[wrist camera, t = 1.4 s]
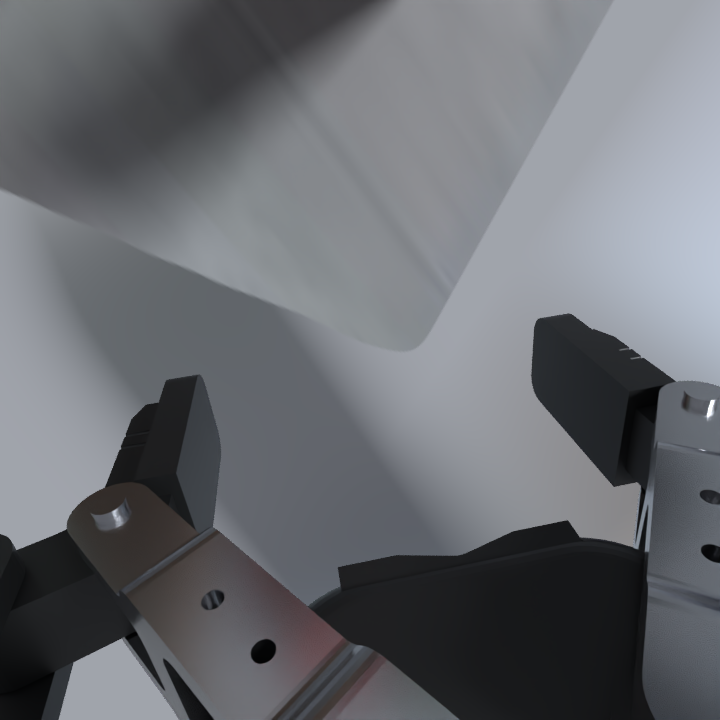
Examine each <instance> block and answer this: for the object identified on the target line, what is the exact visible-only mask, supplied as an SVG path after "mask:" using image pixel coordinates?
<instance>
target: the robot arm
mask: <svg viewBox="0 0 720 720" xmlns="http://www.w3.org/2000/svg"><path fill="white" fill-rule="evenodd" d="M531 376H532V384H533V389H534V392H535V394H536V396H537V398H538V399H539V401H540V402H541V403H542V404H543V405H544V407H545V408H546V409H547V410H548V411H549V412H550V414H552V416H553V417H554V418H555V419H556V421H557V422H558V423H559V424H560V425H561V426H562V427H563V428H564V429H565V431H566V432H567V433H568V434H569V436H571V438H572V439H573V440H574V441H575V442H576V444H577V445H578V446H579V447H580V448H581V449H582V450H583V452H584V453H585V454H586V455H587V456H588V457H589V459H590V460H591V461H592V462H593V463H594V464H595V465H596V467H597V468H598V469H599V470H600V471H601V472H602V474H603V475H604V476H605V477H606V478H607V479H608V481H609V482H610V483H611V484H612V485H613V486H614V487H615V486H620V485H625V484H630V483H635V482H638V483H639V484H640V485H641V488H640V493H639V499H638V506H637V516H636V524H635V533H634V542H633V547H630V546H626V545H623V544H620V543H616V542H612V541H607V540H601V539H593V538H580V537H579V536H578V534H577V533H576V531H575V530H574V528H573V527H572V526H571V524H570V523H569V521H562V522H557V523H552V524H547V525H542V526H537V527H532V528H528V529H523V530H518V531H513V532H511V533H509V534H507V535H504V536H502V537H500V538H498V539H496V540H494V541H492V542H489V543H487V544H485V545H483V546H481V547H479V548H477V549H474V550H472V551H470V552H468V553H466V554H463V555H459V556H409V555H408V556H407V555H405V556H403V555H396V556H391V557H386V558H381V559H376V560H371V561H367V562H361V563H356V564H352V565H347V566H342V567H338V570H339V578H340V584H341V586H340V587H338V588H336V589H334V590H332V591H330V592H328V593H326V594H325V595H323V596H321V597H320V598H318V599H317V600H315V601H314V602H313V603H311V604H310V605H309V606H306V605H305V604H304V603H303V602H301V601H300V600H299V599H298V598H297V597H296V596H295V595H293V594H292V593H291V592H290V591H289V590H288V589H286V588H285V587H284V586H283V585H282V584H280V583H279V582H278V581H277V580H276V579H274V578H273V577H272V576H271V575H270V574H269V573H267V572H266V571H265V570H264V569H263V568H262V567H261V566H259V565H258V564H257V563H256V562H255V561H253V560H252V559H251V558H250V557H249V556H248V555H246V554H245V553H244V552H243V551H242V550H240V549H239V548H238V547H237V546H236V545H235V544H234V543H232V542H231V541H230V540H229V539H228V538H226V537H225V536H224V535H223V534H222V533H220V532H219V531H218V530H217V529H215V528H213V520H214V512H215V503H216V495H217V486H218V477H219V468H220V459H221V446H220V438H219V433H218V429H217V426H216V422H215V419H214V415H213V412H212V408H211V404H210V401H209V397H208V394H207V390H206V386H205V383H204V381H203V378H202V377H201V375H193V376H187V377H181V378H175V379H169V380H166V382H165V385H164V388H163V391H162V394H161V397H160V401H159V403H154V404H148V405H145V406H144V407H143V408H142V410H140V411H139V412H138V413H137V414H136V415H135V416H134V417H133V419H131V422H130V425H129V427H128V430H127V433H126V437H125V438H124V440H123V443H122V445H121V450H119V453H118V455H117V458H116V461H115V463H114V466H113V468H112V471H111V474H110V476H109V479H108V481H107V484H106V486H105V488H103V489H101V490H99V491H97V492H95V493H94V494H92V495H90V496H89V497H87V498H86V499H85V500H83V501H82V502H81V503H80V504H79V505H78V506H77V507H76V508H75V509H74V510H73V511H72V514H71V515H70V516H69V519H68V521H67V529H66V530H65V531H62V532H60V533H58V534H56V535H53V536H51V537H49V538H46V539H44V540H41V541H39V542H36V543H34V544H31V545H29V546H26V547H24V548H21V549H19V550H16V549H15V547H14V545H13V544H12V542H11V540H10V539H9V538H8V537H6V536H4V535H1V534H0V720H58V719H59V715H60V712H61V708H62V704H63V700H64V696H65V693H66V689H67V685H68V681H69V677H70V673H71V670H72V666H73V662H75V661H77V660H79V659H81V658H83V657H85V656H87V655H89V654H91V653H93V652H95V651H97V650H99V649H101V648H103V647H105V646H107V645H109V644H111V643H113V642H115V641H117V640H119V639H121V638H122V639H123V641H124V643H125V644H126V646H127V647H128V648H129V650H130V651H131V652H132V654H133V655H134V657H135V658H136V659H137V661H138V662H139V663H140V665H141V666H142V668H143V669H144V670H145V672H146V673H147V675H148V676H149V677H150V678H151V680H152V681H153V683H154V684H155V686H156V687H157V688H158V690H159V691H160V692H161V694H162V695H163V697H164V698H165V699H166V701H167V702H168V704H169V705H170V706H171V708H172V709H173V711H174V712H175V714H176V716H177V717H178V719H179V720H720V387H719V386H716V385H713V384H709V383H704V382H697V381H678V382H676V381H675V380H673V379H672V378H671V377H669V376H668V375H666V374H665V373H664V372H662V371H661V370H660V369H658V368H657V367H655V366H654V365H653V364H651V363H650V362H649V361H647V360H646V359H644V358H641V356H640V355H639V354H638V353H636V352H635V351H633V350H632V349H631V350H629V347H628V346H627V345H625V344H624V343H622V342H621V341H619V340H618V339H617V338H615V337H614V336H611V335H608V334H606V333H603V332H600V331H598V330H595V329H593V330H592V329H591V328H589V327H588V326H587V325H585V324H584V323H583V322H581V321H580V320H579V319H577V318H576V317H575V316H573V315H572V314H563V315H557V316H551V317H546V318H540V319H538V320H537V321H536V324H535V327H534V340H533V357H532V375H531Z"/></svg>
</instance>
